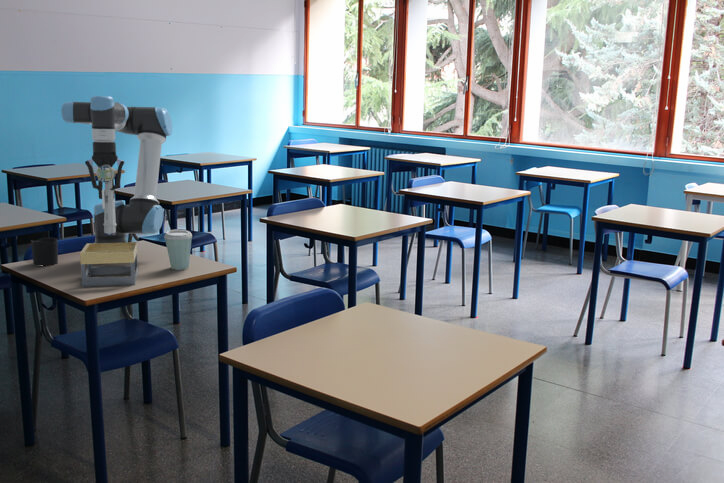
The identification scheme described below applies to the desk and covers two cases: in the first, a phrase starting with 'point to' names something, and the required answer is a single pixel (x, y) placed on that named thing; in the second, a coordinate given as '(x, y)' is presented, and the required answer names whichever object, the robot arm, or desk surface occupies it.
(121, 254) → the collar stand
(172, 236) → the disposable coffee cup
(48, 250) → the pen holder
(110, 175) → the toothbrush head
